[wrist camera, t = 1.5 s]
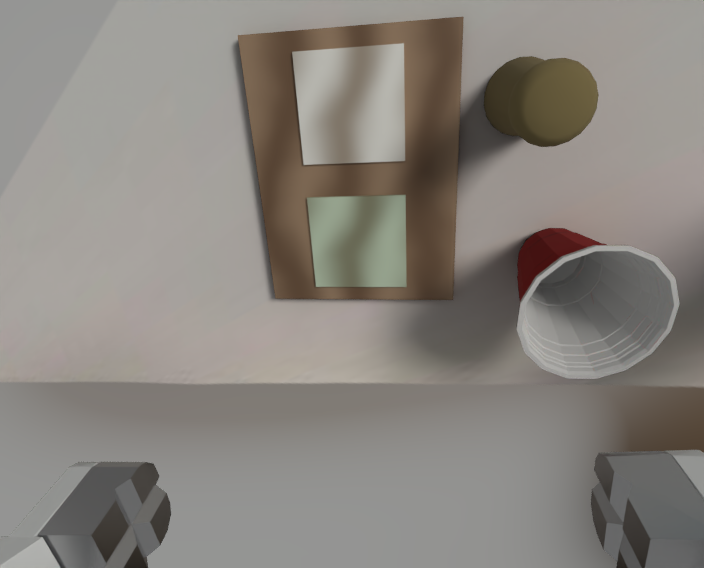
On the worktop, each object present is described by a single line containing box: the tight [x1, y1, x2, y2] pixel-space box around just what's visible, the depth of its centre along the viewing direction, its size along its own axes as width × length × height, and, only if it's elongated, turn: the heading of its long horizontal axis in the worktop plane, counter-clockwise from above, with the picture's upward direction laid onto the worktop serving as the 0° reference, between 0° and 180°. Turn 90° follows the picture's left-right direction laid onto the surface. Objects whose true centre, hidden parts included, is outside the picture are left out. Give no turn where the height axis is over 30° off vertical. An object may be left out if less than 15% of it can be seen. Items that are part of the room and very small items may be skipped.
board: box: [238, 17, 463, 300], centre depth 41 cm, size 18×24×1 cm
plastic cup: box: [517, 228, 680, 379], centre depth 37 cm, size 11×11×12 cm
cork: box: [484, 56, 598, 147], centre depth 32 cm, size 6×6×11 cm
